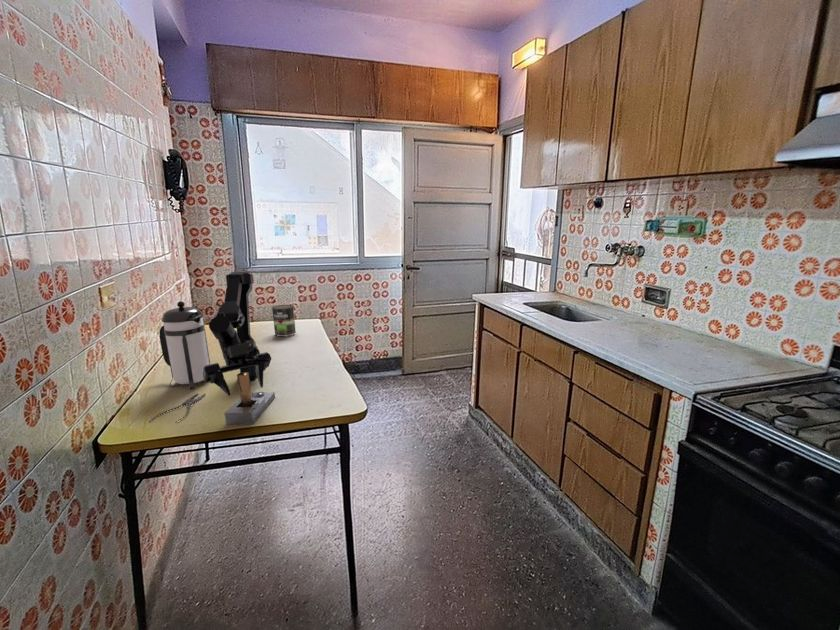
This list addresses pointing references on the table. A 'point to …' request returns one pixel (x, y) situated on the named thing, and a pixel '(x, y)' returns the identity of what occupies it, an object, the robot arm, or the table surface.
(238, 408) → the gray remote-style box
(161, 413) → the pliers
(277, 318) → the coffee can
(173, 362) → the coffee press
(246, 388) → the pin
